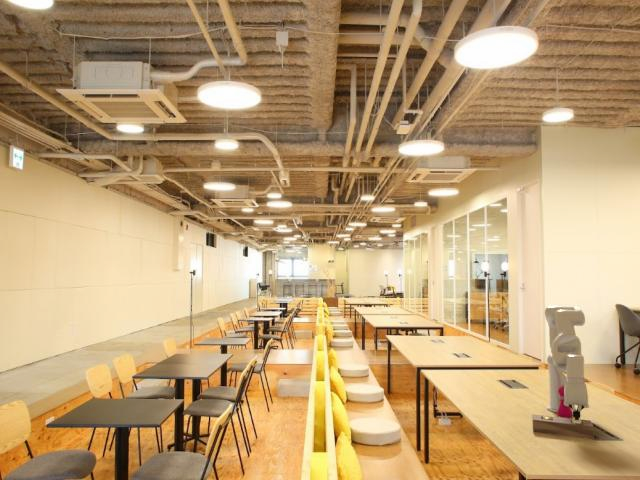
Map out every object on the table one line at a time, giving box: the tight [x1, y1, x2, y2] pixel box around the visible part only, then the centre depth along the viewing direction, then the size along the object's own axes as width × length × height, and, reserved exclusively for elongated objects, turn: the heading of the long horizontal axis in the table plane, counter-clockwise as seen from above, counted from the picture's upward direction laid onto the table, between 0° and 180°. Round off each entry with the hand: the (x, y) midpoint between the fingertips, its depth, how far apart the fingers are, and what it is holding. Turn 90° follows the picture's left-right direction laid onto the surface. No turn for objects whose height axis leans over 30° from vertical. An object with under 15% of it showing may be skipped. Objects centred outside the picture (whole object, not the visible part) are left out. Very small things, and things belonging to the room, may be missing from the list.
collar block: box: [531, 413, 595, 441], centre depth 233 cm, size 10×26×6 cm, turn 68°
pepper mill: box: [556, 383, 573, 418], centre depth 250 cm, size 7×7×20 cm
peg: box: [572, 417, 582, 424], centre depth 230 cm, size 4×4×4 cm
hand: (576, 418), depth 230 cm, fingers closed
